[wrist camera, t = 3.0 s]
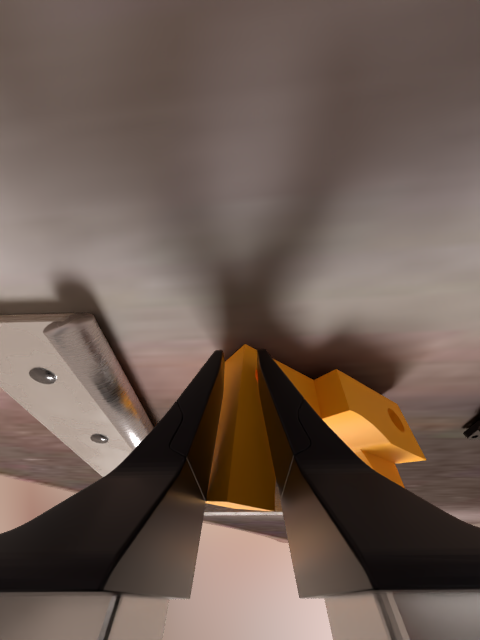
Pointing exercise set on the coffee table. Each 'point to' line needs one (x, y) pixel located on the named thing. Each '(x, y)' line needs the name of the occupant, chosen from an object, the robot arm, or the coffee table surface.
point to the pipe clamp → (332, 407)
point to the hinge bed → (79, 390)
